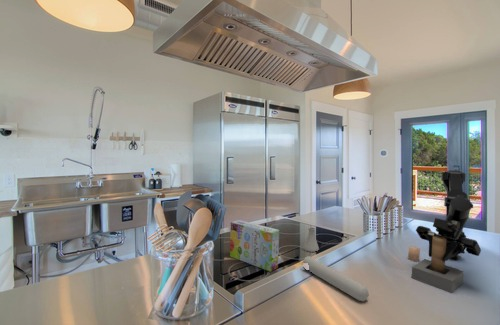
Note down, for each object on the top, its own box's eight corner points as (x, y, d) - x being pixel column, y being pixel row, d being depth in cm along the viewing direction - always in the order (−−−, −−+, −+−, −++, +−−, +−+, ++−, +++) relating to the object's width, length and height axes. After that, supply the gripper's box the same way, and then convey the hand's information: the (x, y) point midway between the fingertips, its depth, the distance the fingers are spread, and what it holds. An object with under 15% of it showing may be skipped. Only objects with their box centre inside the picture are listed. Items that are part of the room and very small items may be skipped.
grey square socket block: (424, 268, 101) (424, 258, 100) (462, 281, 91) (463, 271, 91) (411, 277, 93) (412, 266, 93) (451, 292, 84) (452, 281, 84)
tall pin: (432, 271, 95) (435, 234, 94) (445, 276, 92) (448, 238, 91) (428, 275, 93) (430, 237, 92) (441, 279, 89) (444, 240, 89)
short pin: (410, 256, 112) (411, 245, 112) (420, 260, 109) (421, 248, 108) (406, 259, 109) (407, 247, 109) (416, 262, 106) (417, 250, 106)
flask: (306, 245, 123) (307, 224, 122) (321, 249, 118) (322, 227, 118) (300, 249, 117) (301, 228, 116) (315, 254, 113) (316, 231, 112)
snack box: (278, 267, 99) (280, 229, 98) (270, 272, 95) (271, 232, 94) (237, 252, 112) (238, 218, 111) (228, 256, 108) (229, 221, 107)
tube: (373, 287, 79) (313, 256, 100) (364, 286, 76) (304, 255, 97) (369, 305, 78) (310, 270, 100) (359, 304, 76) (300, 269, 97)
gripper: (419, 205, 101) (401, 236, 96) (479, 217, 84) (460, 255, 80) (429, 222, 105) (412, 253, 101) (488, 237, 89) (470, 274, 84)
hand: (436, 258), depth 91 cm, fingers closed on tall pin, 4 cm apart
